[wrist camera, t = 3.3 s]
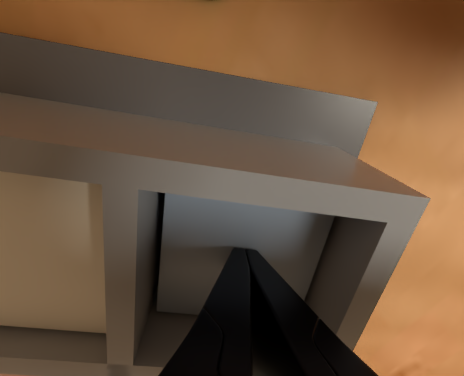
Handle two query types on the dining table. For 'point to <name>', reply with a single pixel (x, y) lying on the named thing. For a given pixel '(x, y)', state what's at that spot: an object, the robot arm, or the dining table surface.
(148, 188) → the keypad base
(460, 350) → the dining table surface
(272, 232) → the key slate
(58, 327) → the key cream
